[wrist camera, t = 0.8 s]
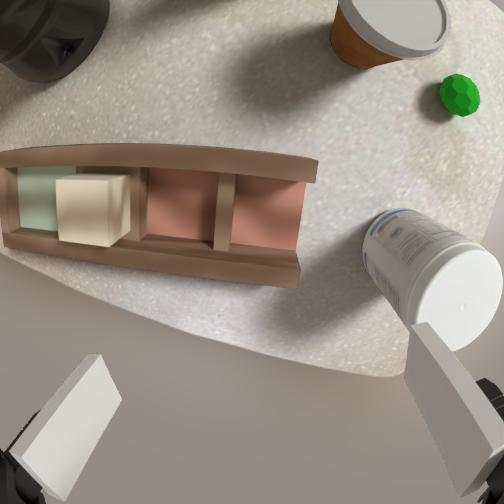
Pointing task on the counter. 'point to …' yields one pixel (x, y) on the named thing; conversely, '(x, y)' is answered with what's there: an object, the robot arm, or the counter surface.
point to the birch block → (93, 207)
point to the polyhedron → (459, 95)
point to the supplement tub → (433, 275)
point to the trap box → (169, 208)
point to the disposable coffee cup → (389, 30)
